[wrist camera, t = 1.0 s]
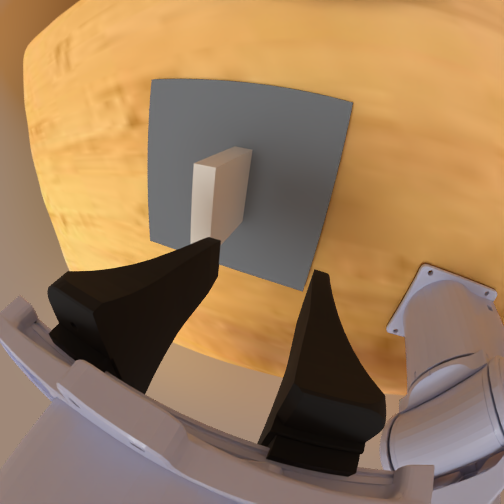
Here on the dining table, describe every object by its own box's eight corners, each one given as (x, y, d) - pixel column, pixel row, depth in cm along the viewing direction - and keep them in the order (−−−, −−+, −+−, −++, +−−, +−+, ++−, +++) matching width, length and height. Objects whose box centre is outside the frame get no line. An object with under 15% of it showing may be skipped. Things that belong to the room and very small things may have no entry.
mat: (352, 102, 16) (353, 102, 15) (304, 286, 25) (302, 291, 24) (157, 79, 19) (151, 79, 19) (154, 237, 28) (150, 240, 27)
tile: (252, 149, 19) (215, 167, 14) (242, 221, 23) (209, 258, 18) (234, 146, 20) (192, 163, 15) (226, 216, 23) (189, 251, 18)
